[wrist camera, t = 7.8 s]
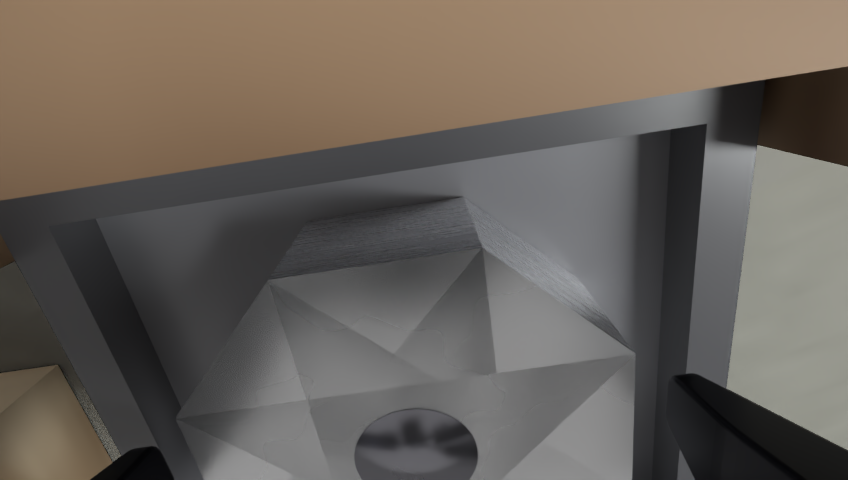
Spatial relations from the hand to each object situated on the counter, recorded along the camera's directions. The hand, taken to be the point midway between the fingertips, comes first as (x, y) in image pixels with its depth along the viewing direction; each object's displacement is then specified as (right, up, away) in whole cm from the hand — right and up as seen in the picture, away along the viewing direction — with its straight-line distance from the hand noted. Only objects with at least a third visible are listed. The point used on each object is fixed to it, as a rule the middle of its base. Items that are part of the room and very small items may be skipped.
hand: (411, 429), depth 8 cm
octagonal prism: (0, +1, +2) cm, 2 cm away
